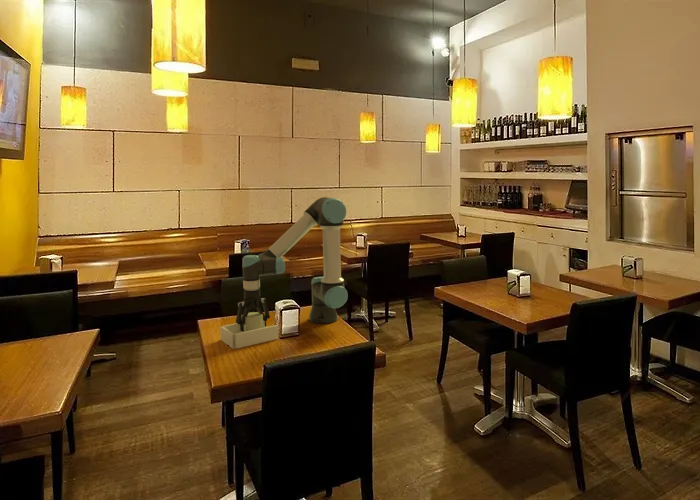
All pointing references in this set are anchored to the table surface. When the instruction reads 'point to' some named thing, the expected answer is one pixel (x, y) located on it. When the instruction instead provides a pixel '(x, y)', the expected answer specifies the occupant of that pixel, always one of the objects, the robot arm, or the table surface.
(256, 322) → the can
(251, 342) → the open box
